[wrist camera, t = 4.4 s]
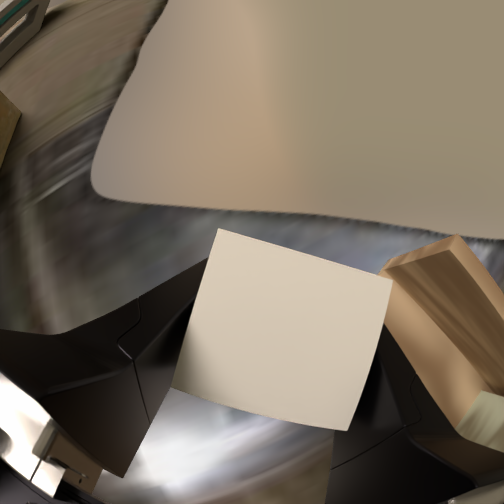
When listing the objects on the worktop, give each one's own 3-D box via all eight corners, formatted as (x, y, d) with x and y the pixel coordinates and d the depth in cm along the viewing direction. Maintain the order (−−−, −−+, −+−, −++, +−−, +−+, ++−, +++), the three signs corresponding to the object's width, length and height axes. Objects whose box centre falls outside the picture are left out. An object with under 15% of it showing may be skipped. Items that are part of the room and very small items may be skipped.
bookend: (293, 361, 16) (347, 430, 6) (218, 340, 16) (170, 386, 6) (313, 295, 17) (393, 280, 7) (238, 273, 17) (218, 228, 7)
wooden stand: (448, 475, 18) (512, 522, 6) (303, 364, 21) (357, 426, 9) (505, 396, 20) (582, 415, 7) (388, 259, 23) (491, 219, 10)
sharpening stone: (-26, 100, 28) (-56, 72, 17) (-30, 89, 29) (-56, 65, 18) (66, 9, 31) (47, -26, 21) (54, 6, 32) (36, -25, 22)
